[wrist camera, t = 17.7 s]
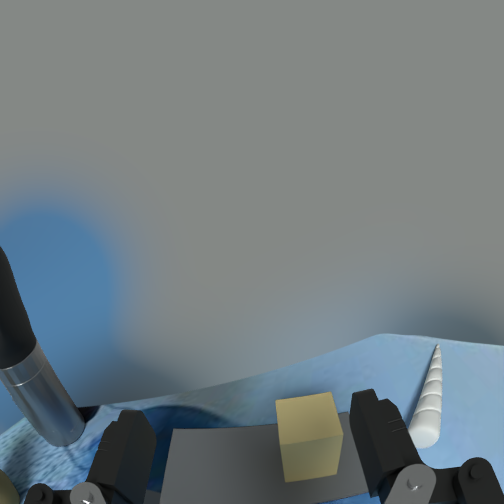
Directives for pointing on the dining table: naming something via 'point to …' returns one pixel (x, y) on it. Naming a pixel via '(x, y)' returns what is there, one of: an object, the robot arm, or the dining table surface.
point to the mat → (251, 469)
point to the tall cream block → (309, 436)
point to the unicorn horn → (428, 407)
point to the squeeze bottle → (7, 490)
